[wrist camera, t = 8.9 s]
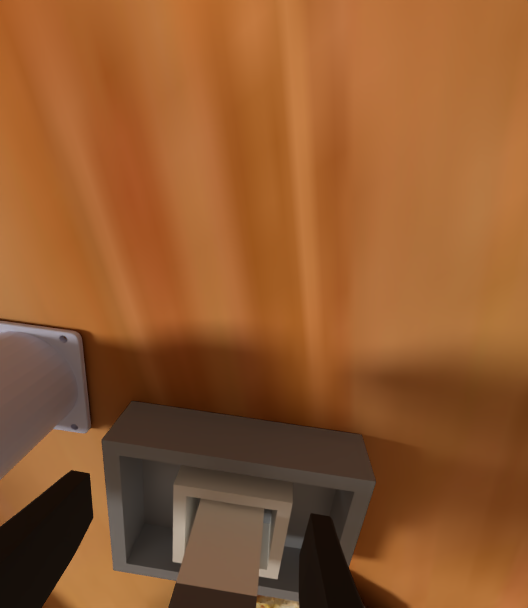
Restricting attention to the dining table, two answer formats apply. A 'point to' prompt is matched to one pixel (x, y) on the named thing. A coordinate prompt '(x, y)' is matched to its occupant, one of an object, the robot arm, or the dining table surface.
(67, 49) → the dining table surface
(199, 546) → the block
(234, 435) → the caddy
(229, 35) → the dining table surface
